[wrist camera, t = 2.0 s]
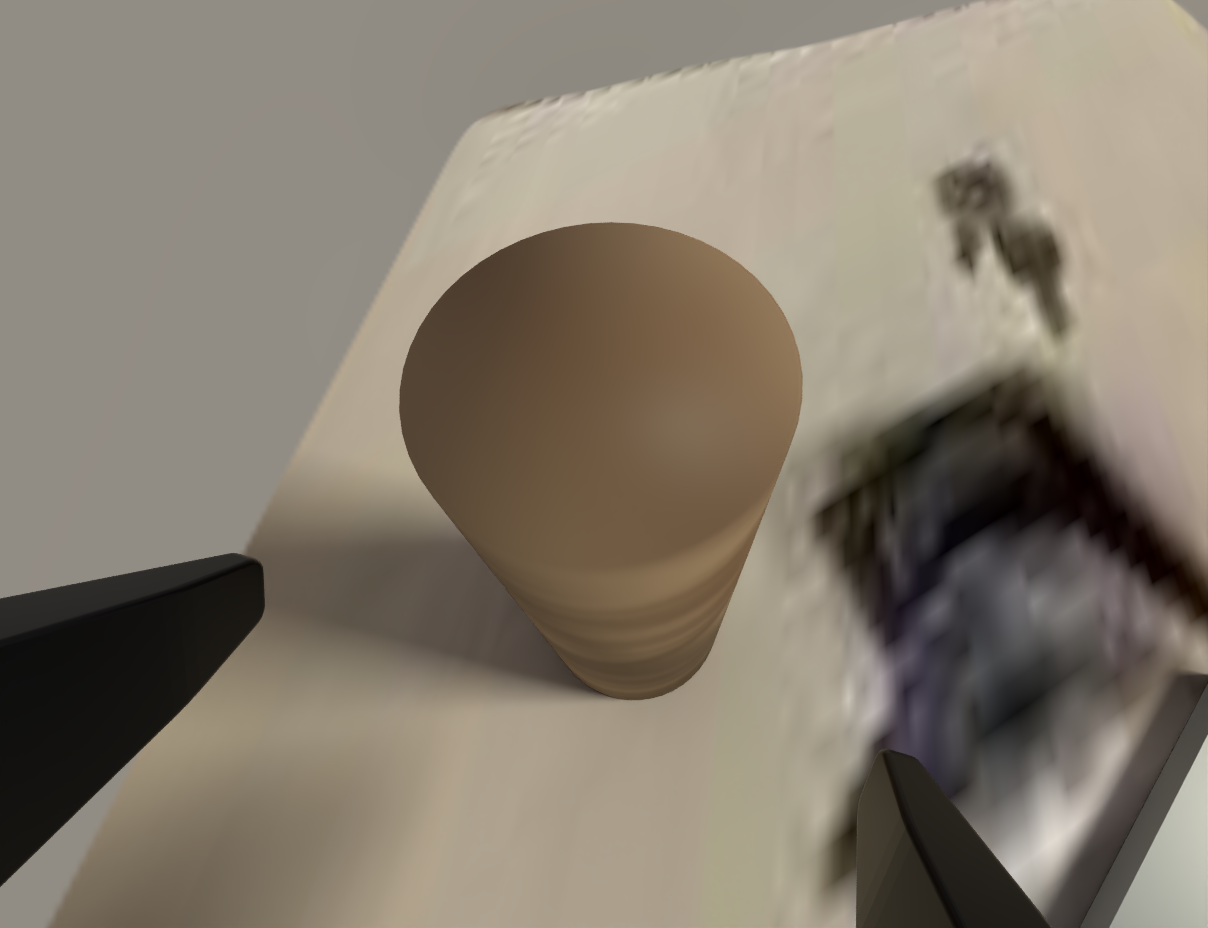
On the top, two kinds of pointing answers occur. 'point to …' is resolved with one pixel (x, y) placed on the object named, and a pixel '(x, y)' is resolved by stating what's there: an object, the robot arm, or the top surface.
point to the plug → (607, 437)
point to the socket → (1165, 846)
